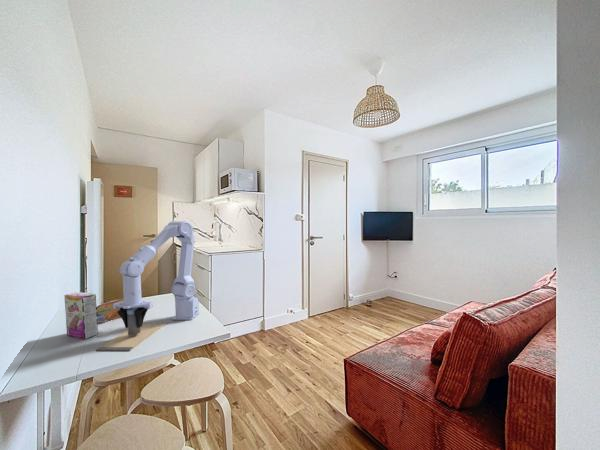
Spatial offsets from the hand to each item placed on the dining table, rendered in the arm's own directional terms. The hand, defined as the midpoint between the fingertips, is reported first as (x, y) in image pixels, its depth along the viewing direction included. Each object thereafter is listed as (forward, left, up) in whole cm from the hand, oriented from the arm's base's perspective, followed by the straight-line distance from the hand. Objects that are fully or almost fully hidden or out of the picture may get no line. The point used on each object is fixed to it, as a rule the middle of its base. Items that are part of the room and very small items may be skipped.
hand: (134, 326), depth 97 cm
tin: (+22, -17, -4) cm, 28 cm away
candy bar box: (+22, -1, -4) cm, 22 cm away
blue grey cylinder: (0, 0, -2) cm, 2 cm away
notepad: (0, 0, -4) cm, 4 cm away
